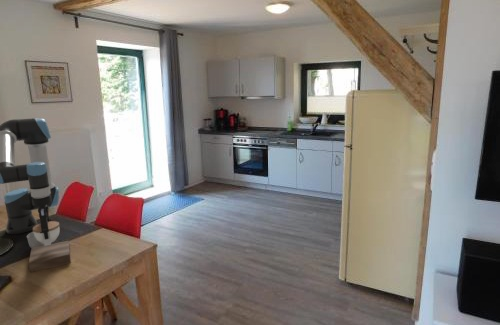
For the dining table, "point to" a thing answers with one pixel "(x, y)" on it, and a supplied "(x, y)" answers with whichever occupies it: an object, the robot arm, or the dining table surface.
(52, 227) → the lidded jar
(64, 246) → the walnut block
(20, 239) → the dining table surface
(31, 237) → the teacup
